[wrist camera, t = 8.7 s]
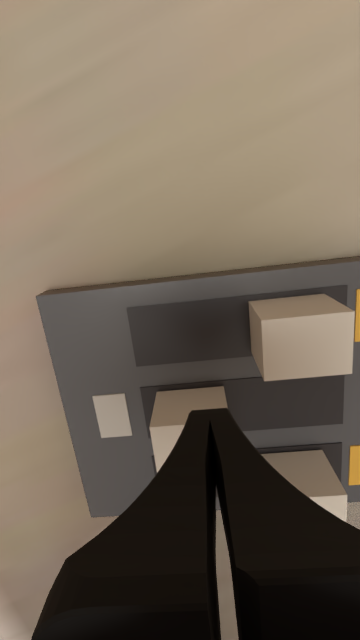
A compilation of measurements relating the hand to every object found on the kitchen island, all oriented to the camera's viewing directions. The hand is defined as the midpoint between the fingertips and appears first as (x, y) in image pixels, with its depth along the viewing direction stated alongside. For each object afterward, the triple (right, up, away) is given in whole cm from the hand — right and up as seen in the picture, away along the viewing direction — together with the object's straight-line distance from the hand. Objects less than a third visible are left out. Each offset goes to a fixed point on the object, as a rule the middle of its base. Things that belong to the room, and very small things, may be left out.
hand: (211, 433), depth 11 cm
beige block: (+6, -6, +9) cm, 13 cm away
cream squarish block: (+5, +4, +7) cm, 9 cm away
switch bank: (+2, -1, +10) cm, 10 cm away
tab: (0, -2, +8) cm, 9 cm away
